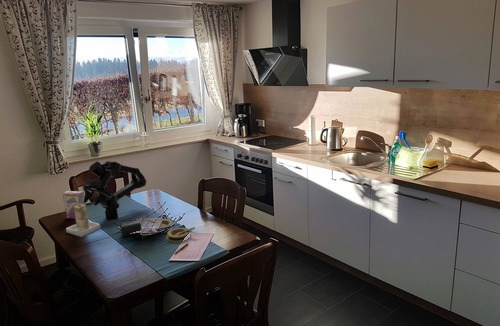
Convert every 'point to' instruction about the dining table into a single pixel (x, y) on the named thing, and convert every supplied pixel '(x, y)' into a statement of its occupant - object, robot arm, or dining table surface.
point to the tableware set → (173, 231)
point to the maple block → (81, 217)
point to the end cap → (129, 228)
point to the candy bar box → (72, 202)
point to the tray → (92, 227)
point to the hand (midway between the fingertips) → (89, 204)
